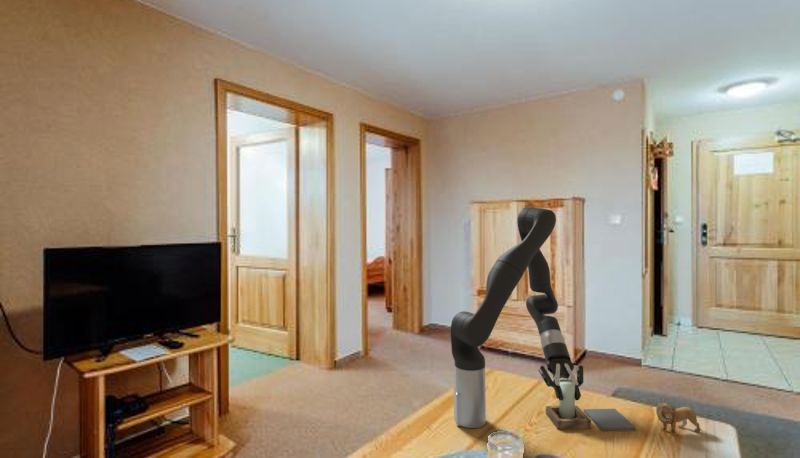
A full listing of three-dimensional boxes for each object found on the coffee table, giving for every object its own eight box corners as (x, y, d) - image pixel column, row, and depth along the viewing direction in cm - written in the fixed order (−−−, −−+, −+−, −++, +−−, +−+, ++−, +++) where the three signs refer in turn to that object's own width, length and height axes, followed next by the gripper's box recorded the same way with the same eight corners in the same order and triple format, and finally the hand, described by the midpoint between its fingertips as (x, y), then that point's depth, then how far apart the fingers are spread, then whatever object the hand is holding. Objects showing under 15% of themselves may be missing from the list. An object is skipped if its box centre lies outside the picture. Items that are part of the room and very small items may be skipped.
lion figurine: (668, 440, 114) (667, 408, 114) (650, 431, 119) (650, 400, 119) (705, 431, 119) (705, 400, 119) (687, 422, 124) (687, 393, 124)
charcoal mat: (602, 430, 120) (602, 428, 120) (583, 411, 132) (583, 409, 132) (636, 430, 120) (636, 427, 120) (614, 411, 132) (614, 408, 132)
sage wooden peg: (562, 418, 124) (562, 385, 124) (557, 411, 128) (557, 379, 128) (577, 418, 124) (577, 385, 124) (571, 411, 128) (571, 379, 128)
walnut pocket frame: (558, 429, 121) (557, 421, 121) (545, 413, 131) (545, 406, 131) (591, 428, 121) (591, 420, 121) (576, 413, 131) (576, 405, 131)
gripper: (535, 341, 133) (549, 394, 121) (579, 341, 133) (597, 394, 121) (530, 352, 138) (542, 404, 127) (572, 352, 139) (589, 404, 127)
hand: (569, 399), depth 124 cm, fingers closed on sage wooden peg, 4 cm apart
